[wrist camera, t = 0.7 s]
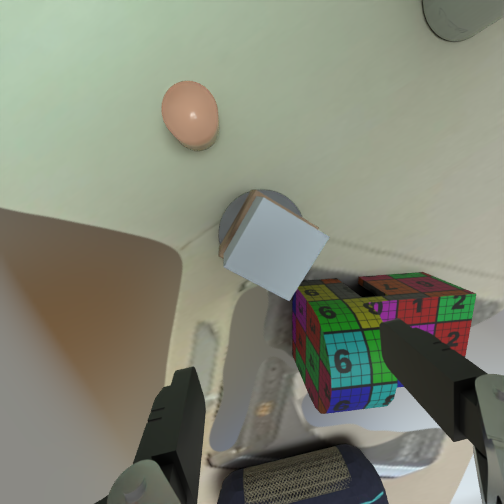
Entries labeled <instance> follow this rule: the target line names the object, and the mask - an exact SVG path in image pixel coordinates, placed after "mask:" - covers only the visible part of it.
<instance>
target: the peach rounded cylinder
mask: <svg viewBox="0 0 504 504" xmlns="http://www.w3.org/2000/svg"><path fill="white" fill-rule="evenodd" d="M162 116H163V120H164V122H165V124H166V126H167V128H168V129H169V130H170V132H171V133H172V134H173V135H174V136H175V137H176V138H177V139H178V140H179V142H180V143H181V144H182V145H183V146H185V147H186V148H188V149H190V150H194V151H202V150H205V149H208V148H209V147H211V146H212V145H213V144H214V143H215V141H216V139H217V137H218V134H219V120H218V108H217V104H216V101H215V99H214V97H213V95H212V94H211V93H210V91H209V90H208V89H207V88H205V87H204V86H203V85H201V84H199V83H197V82H193V81H182V82H179V83H176V84H174V85H173V86H172V87H170V88H169V89H168V91H167V92H166V94H165V95H164V98H163V101H162Z"/></svg>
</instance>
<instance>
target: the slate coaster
mask: <svg viewBox="0 0 504 504" xmlns="http://www.w3.org/2000/svg"><path fill="white" fill-rule="evenodd" d="M257 191H259V192H261V193H262V194H264V195H266V196H267V197H269V198H271V199H272V200H274V201H276V202H277V203H279V204H281V205H282V206H284V207H286V208H287V209H289V210H290V211H292V212H294V213H295V214H297V215H299V216H300V217H302V215H301V213H300V211H299V209H298V208H297V206H296V205H295V204H294V203H293V202H292V201H291V200H290V199H289V198H287V197H286V196H284V195H282V194H280V193H278V192H275V191H271V190H257ZM249 193H250V192H247V193H245V194H243V195H241V196H239V197H238V198H236V199H235V200H234V201H233V202H231V204H230V205H229V206H228V207H227V209H226V210H225V212H224V214H223V216H222V218H221V221H220V226H219V242H220V245H221V243H222V241H223V239H224V238H225V236H226V234H227V232H228V230H229V229H230V227H231V225H232V223H233V222H234V220H235V218H236V216H237V214H238V213H239V211H240V209H241V207H242V206H243V204H244V202H245V200H246V198H247V197H248V195H249Z"/></svg>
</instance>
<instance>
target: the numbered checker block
mask: <svg viewBox="0 0 504 504" xmlns="http://www.w3.org/2000/svg"><path fill="white" fill-rule="evenodd" d="M358 284H360V285H361V286H363V287H364V288H366V289H367V290H368V291H370V292H371V293H373V294H374V295H376V296H374V297H360V296H359V295H358V294H357V293H355V292H354V291H353V290H351V289H350V288H349V287H347V286H346V285H345V284H344V283H342V282H341V281H340V280H338V279H337V278H335V279H321V280H307V281H302V282H301V283H300V285H299V287H298V288H297V290H296V291H295V293H294V295H293V296H292V355H293V358H294V360H295V362H296V365H297V367H298V370H299V372H300V374H301V377H302V379H303V381H304V384H305V386H306V389H307V391H308V393H309V396H310V398H311V400H312V402H313V404H314V406H315V408H316V409H317V410H318V411H319V412H320V413H321V414H325V413H335V412H343V411H351V410H359V409H367V408H375V407H384V406H388V404H389V403H390V402H391V401H392V400H393V399H394V395H395V392H396V388H397V387H404V386H403V385H402V384H401V383H400V381H399V380H398V379H397V378H396V377H395V376H394V375H393V374H392V372H391V371H390V370H389V369H388V368H387V366H386V364H385V363H384V360H383V357H382V352H381V340H380V329H379V326H380V323H381V322H386V321H390V320H394V319H401V320H402V321H404V322H405V323H406V324H408V325H409V326H410V327H412V328H415V327H416V328H419V329H421V330H424V331H427V332H429V333H431V334H432V335H434V336H435V337H437V338H438V339H439V340H441V342H442V343H443V342H444V343H445V344H446V345H448V346H449V347H451V349H453V350H455V351H456V352H458V353H459V354H461V355H462V356H463V357H465V355H466V349H467V344H468V338H469V332H470V327H471V321H472V315H473V309H474V304H475V298H476V293H473V292H471V291H468V290H466V289H463V288H461V287H458V286H456V285H454V284H451V283H449V282H446V281H444V280H441V279H439V278H436V277H434V276H431V275H429V274H426V273H424V272H419V273H405V274H391V275H377V276H363V277H359V281H358Z"/></svg>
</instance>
